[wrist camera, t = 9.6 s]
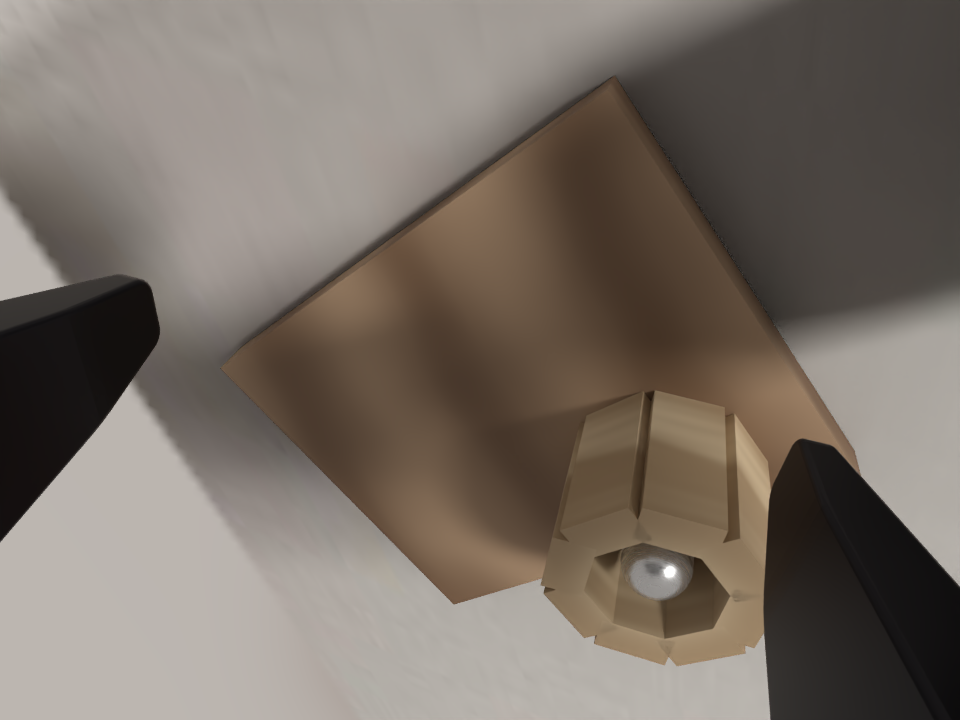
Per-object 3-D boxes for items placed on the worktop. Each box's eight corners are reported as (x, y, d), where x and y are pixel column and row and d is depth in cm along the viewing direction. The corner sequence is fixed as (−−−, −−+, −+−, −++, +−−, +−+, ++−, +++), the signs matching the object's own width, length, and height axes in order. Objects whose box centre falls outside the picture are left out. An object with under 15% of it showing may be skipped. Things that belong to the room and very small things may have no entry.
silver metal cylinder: (675, 436, 22) (667, 558, 18) (707, 479, 22) (707, 607, 18) (621, 456, 23) (602, 577, 19) (653, 497, 23) (641, 622, 20)
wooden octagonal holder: (701, 366, 20) (699, 483, 16) (797, 503, 22) (816, 640, 18) (538, 436, 23) (503, 549, 19) (633, 551, 25) (619, 676, 21)
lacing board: (614, 75, 18) (607, 89, 17) (854, 450, 22) (862, 483, 21) (241, 346, 27) (220, 368, 26) (463, 576, 31) (453, 604, 30)
